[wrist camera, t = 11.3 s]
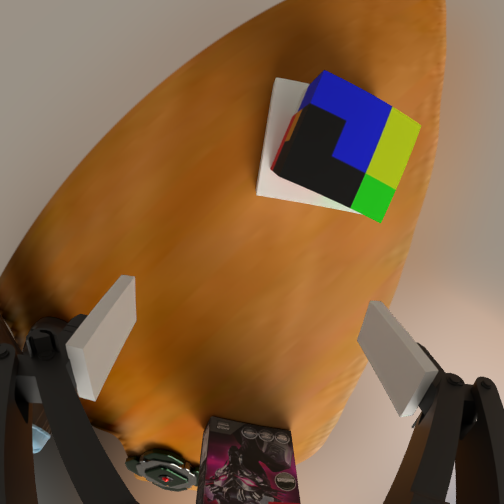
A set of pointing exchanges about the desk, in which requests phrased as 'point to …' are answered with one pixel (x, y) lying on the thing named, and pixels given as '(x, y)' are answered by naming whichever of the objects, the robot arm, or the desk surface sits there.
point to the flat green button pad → (164, 470)
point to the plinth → (277, 124)
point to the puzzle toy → (346, 145)
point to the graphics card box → (246, 465)
